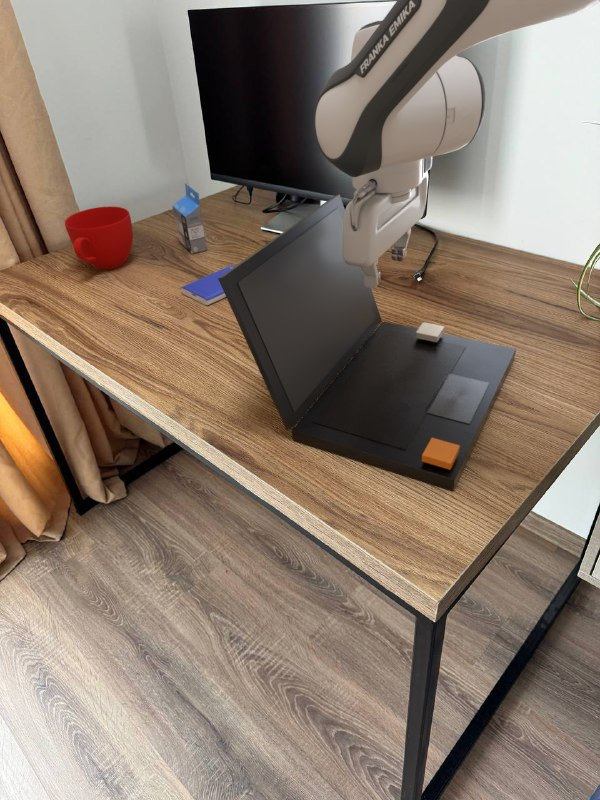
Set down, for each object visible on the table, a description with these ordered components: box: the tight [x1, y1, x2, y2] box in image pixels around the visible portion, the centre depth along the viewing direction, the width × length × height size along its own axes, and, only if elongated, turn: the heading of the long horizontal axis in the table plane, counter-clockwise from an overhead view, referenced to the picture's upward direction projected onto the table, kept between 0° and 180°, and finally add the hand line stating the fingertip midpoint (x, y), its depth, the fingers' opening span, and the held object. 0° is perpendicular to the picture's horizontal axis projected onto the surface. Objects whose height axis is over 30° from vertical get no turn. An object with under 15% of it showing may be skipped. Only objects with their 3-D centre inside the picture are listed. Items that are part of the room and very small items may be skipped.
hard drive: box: [180, 264, 236, 306], centre depth 112 cm, size 2×8×12 cm
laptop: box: [291, 321, 517, 492], centre depth 81 cm, size 21×30×2 cm
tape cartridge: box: [172, 183, 208, 255], centre depth 126 cm, size 9×4×12 cm, turn 28°
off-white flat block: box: [415, 321, 445, 342], centre depth 89 cm, size 3×3×1 cm
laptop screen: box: [218, 193, 383, 431], centre depth 80 cm, size 21×30×1 cm
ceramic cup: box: [64, 205, 134, 270], centre depth 121 cm, size 13×17×10 cm
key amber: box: [422, 438, 460, 470], centre depth 68 cm, size 3×3×1 cm
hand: (386, 271), depth 82 cm, fingers open, 8 cm apart
